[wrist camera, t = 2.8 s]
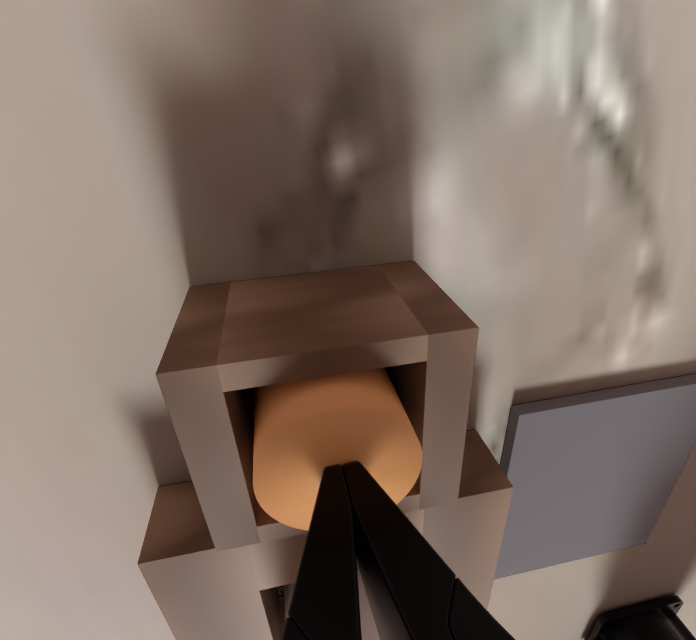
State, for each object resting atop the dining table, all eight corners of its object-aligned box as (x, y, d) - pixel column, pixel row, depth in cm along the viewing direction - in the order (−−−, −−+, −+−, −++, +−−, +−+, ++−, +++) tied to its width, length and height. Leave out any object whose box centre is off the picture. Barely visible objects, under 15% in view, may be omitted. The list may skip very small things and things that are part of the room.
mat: (714, 370, 18) (727, 378, 18) (637, 533, 24) (645, 543, 24) (511, 405, 17) (519, 415, 17) (480, 570, 23) (486, 581, 22)
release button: (379, 312, 12) (425, 394, 9) (380, 412, 14) (419, 513, 11) (244, 329, 12) (237, 425, 8) (265, 432, 14) (266, 544, 10)
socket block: (500, 250, 13) (597, 310, 10) (454, 586, 23) (493, 684, 19) (82, 299, 12) (-9, 397, 8) (221, 641, 21) (211, 762, 17)
